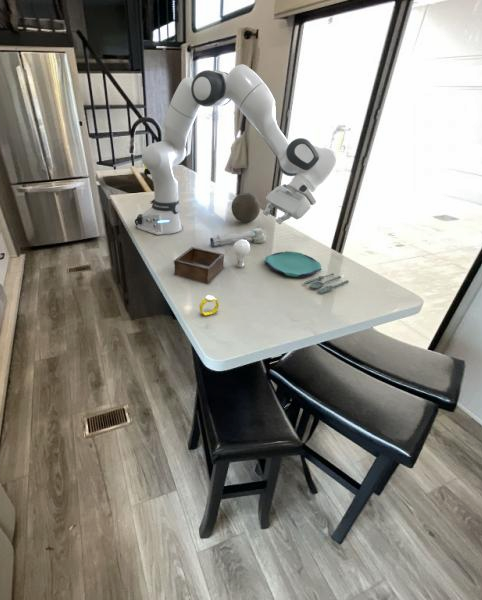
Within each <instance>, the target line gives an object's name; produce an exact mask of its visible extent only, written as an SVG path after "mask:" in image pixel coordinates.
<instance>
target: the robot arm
mask: <svg viewBox="0 0 482 600" xmlns="http://www.w3.org/2000/svg"><path fill="white" fill-rule="evenodd" d="M231 101H232V102H233V103H234V104H235V106H236V107H237V109H239V111H240V112H241V113H242V114H243V115H244V117H246V119H247V120H248V122H250V123H251V125H252V126H253V127H254V128H255V129H256V131H257V132H258V133H259V134H260V135H261V137H262V139H263V140H264V141H265V142H266V144H267V145H268V147H269V148H270V149H271V151H272V152H273V154H274V155H275V157H276V160H277V163H278V167H279V170H280V171H281V173H282V174H284V175H285V176H286V177H292V179H291V180H289V182H288V183H283V184H280V185H278V186H276V187H274V189H273V190H271V191H269V193H268V194H267V195H266V196H265V201H266V202H267V205H266V207H265V209H264V210H263V211H262V214H263V215H264V216H266V217H268V216H269V215H270V214H271V209H272V210H273V209H274V208H275V209H276V210H279V211H280V212H282V213H284V214H283V215H281V216H278V217H277V218H276V220H275V222H276V223H277V224H279V225H281V224H283V223H284V222H285V221H288V220H289V219H291V218H293V219H294V220H299V219H301V218H302V217H303V216H304V215H305V214H307V213H308V211H309V210H310V209H311V207H312V206H314V205H315V204H316V203H317V202H318V201H317V198H316V197H315V194H314V192H315V190H316V189H317V187H319V185H321V184H323V183H324V182H325V180H326V179H327V178H329V177H330V175H331V174H332V173H333V171H334V170H335V169H336V167H337V164H338V159H337V156H336V154H335V152H334V151H333V150H332V149H331V148H329V147H328V146H319V145H316V144H314V143H312V142H311V141H309V140H308V139H306V138H303V137H300V138H299V137H298V138H295V139H293V140H292V141H291V142H289V140H288V139H287V137H286V136H285V135H284V133H283V131H282V130H281V129H280V128H279V127H280V126H279V125H278V123H277V119H276V117H277V116H276V100H275V98H274V96H273V93H272V91H271V90H270V88H269V87H268V85H267V84H266V83H265V82H264V81H263V80H262V78H261V77H260V76H259V74H257V73H256V72H255V71H254V70H253V69H251V68H250V67H249V66H248V65H247V64H243V63H242V64H238V65H235V66H234V67H233V68H232V69H230V71H229V72H228V73H227V72H224V71H221V70H218V69H217V70H216V69H215V70H201V71H199V73H197V74H196V75H195V76H194V77H189V76H188V77H184V78H182V80H181V81H180V82H179V84H178V86H177V88H176V90H175V92H174V93H173V96H172V98H171V100H170V102H169V106H168V108H167V111H166V114H165V117H164V119H163V128H164V132H163V133H164V134H163V138H162V139H161V141H157V142H152V143H150V144H149V145H147V146H146V147H145V148H144V149H143V150H142V153H141V160H142V164H143V165H144V167H145V168H146V170H148V171H149V173H150V176H151V180H152V185H153V193H154V198H153V199H152V200H150V201H149V204H150V205H151V207H150V208H149V209H147V210H146V211H145V212H143V213H139V214H137V217H136V218H135V219H134V225H135V226H136V228H137V229H139V230H142V231H145V232H146V233H147V232H148V233H151V234H153V235H156V236H160V235H169V234H170V235H171V234H175V233H178V232H181V231H182V230H183V227H182V222H181V217H180V199H179V183H178V180H177V179H176V178H175V176H174V173H173V167H177V166H178V165H180V164H181V163H182V162H183V161H184V160H185V158H186V156H187V149H186V144H187V141H188V136H189V134H190V132H191V129H192V128H193V124H194V122H195V119H196V117H197V115H198V112H199V110H200V109H201V107H206V108H208V107H211V108H215V107H220V106H225V105H227V104H228V103H230V102H231Z"/></svg>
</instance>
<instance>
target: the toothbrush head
mask: <svg viewBox="0 0 482 600" xmlns="http://www.w3.org/2000/svg"><path fill="white" fill-rule="evenodd" d="M266 237H267V235H266V233H264V229H263V228H262V227H256V228H254V229H253V230H247V231H240V232H234V233H228V234H222V235H219V234H218V235H216V236H213V237H210V239H209V241H210V246H211V247H212V248H214V247H217V246H219V247H221V246H222V245H227V244H231V243H235V242H236V241H238V240H248V239H251V241H252V243H253V244H262V243H263V242H265V239H266Z"/></svg>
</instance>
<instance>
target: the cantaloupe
mask: <svg viewBox="0 0 482 600" xmlns="http://www.w3.org/2000/svg"><path fill="white" fill-rule="evenodd" d="M260 212H261V203H260V201H259V199H258V197H257V196H256V195H255V194H253V193H252V192H241V193H239V194H237V195H236V196H235V197H234V198H233V200H232V202H231V213H232V215H233V217H234V218H235V220H237V221H238V222H240V223H243V224H248V223H251V222H253V221H255V220H256V219H257V218H258V217H259V215H260Z"/></svg>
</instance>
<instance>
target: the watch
mask: <svg viewBox="0 0 482 600" xmlns="http://www.w3.org/2000/svg"><path fill="white" fill-rule="evenodd" d="M214 301H215V305H214V308H213V309H212V310H210V311H203V308H204V306H205V304H207V303H208V302H210V303H213V302H214ZM219 307H220V302H219V301H218V299H217V298H216V297H215V296H214V295H212V294H208V295H205V297H204V299H203V300H201V302H200V303H199V307H198V309H199V312H200V313H201V314H202V315H203V316H210V315H214V314H216V312H218V309H219Z"/></svg>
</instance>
